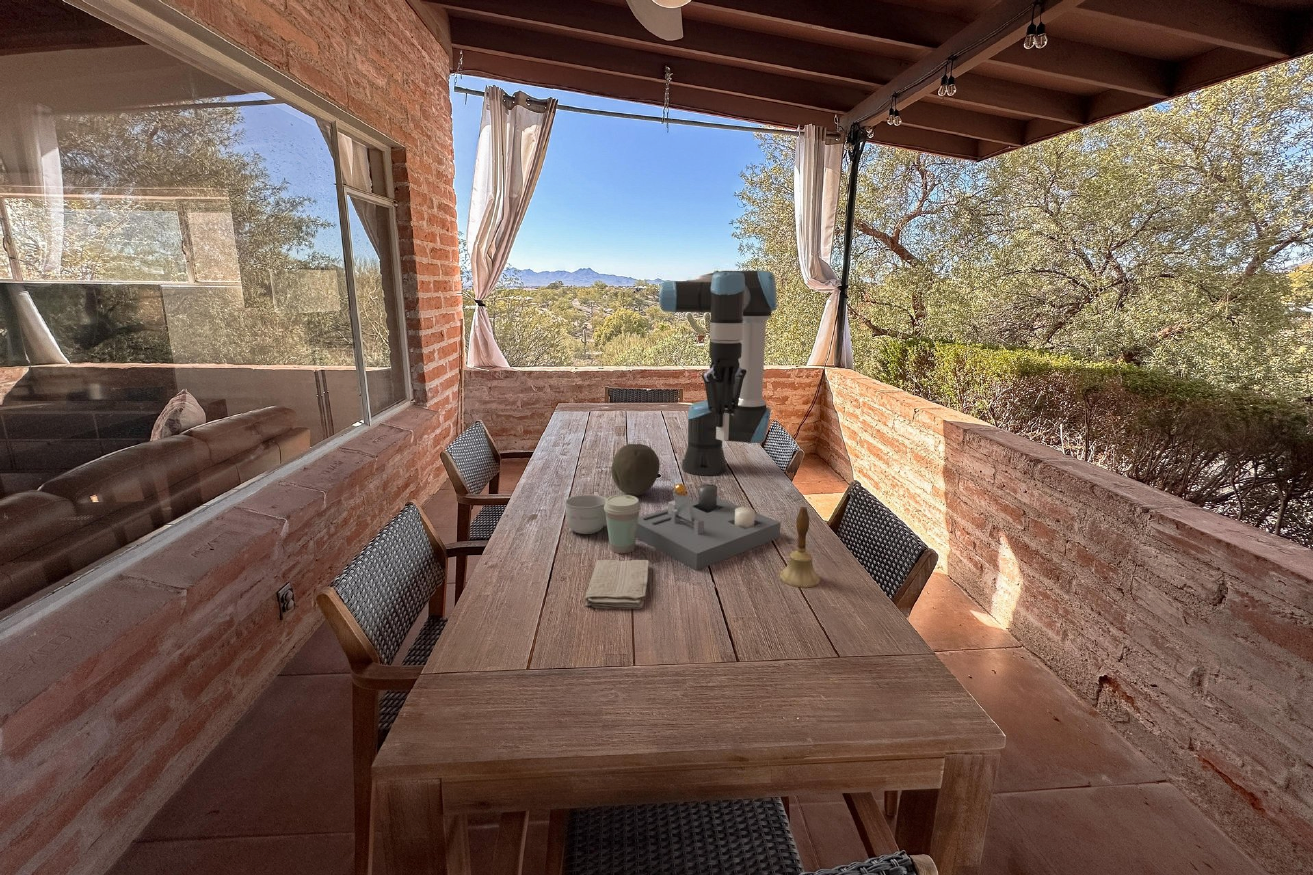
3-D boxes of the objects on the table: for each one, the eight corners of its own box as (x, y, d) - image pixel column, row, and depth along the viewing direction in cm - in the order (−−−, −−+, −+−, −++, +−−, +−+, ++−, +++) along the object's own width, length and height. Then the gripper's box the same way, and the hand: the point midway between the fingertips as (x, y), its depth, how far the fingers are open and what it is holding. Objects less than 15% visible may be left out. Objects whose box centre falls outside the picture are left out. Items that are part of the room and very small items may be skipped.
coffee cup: (636, 557, 131) (636, 508, 128) (599, 554, 133) (599, 505, 130) (644, 542, 140) (644, 495, 137) (610, 538, 141) (609, 492, 138)
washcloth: (583, 611, 110) (583, 596, 110) (595, 567, 128) (595, 554, 127) (646, 612, 110) (646, 597, 110) (649, 568, 128) (649, 555, 127)
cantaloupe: (658, 502, 166) (659, 451, 162) (609, 501, 166) (608, 451, 162) (659, 485, 179) (660, 439, 176) (614, 485, 180) (613, 438, 176)
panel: (711, 509, 161) (712, 485, 159) (779, 537, 143) (781, 510, 141) (630, 534, 144) (630, 508, 142) (696, 570, 126) (697, 540, 124)
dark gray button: (707, 502, 155) (708, 482, 153) (720, 507, 151) (721, 487, 150) (694, 506, 152) (695, 486, 150) (707, 512, 148) (707, 491, 147)
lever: (683, 514, 142) (674, 478, 137) (701, 522, 137) (692, 485, 132) (674, 520, 140) (665, 483, 136) (692, 528, 135) (684, 491, 131)
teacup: (556, 532, 145) (555, 502, 143) (582, 518, 154) (581, 489, 152) (604, 544, 138) (603, 512, 136) (627, 528, 148) (627, 498, 146)
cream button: (743, 526, 146) (744, 505, 144) (757, 532, 142) (759, 511, 141) (730, 531, 143) (730, 510, 141) (744, 537, 139) (745, 515, 138)
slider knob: (675, 511, 148) (675, 500, 147) (681, 514, 146) (681, 502, 146) (668, 513, 147) (668, 502, 146) (674, 516, 145) (674, 505, 144)
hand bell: (791, 590, 118) (796, 517, 114) (772, 571, 126) (777, 502, 122) (827, 585, 120) (834, 513, 116) (807, 567, 128) (812, 499, 124)
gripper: (733, 338, 141) (729, 432, 147) (694, 341, 133) (691, 440, 139) (756, 341, 136) (751, 438, 142) (717, 344, 128) (713, 447, 134)
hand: (722, 439), depth 140 cm, fingers closed
